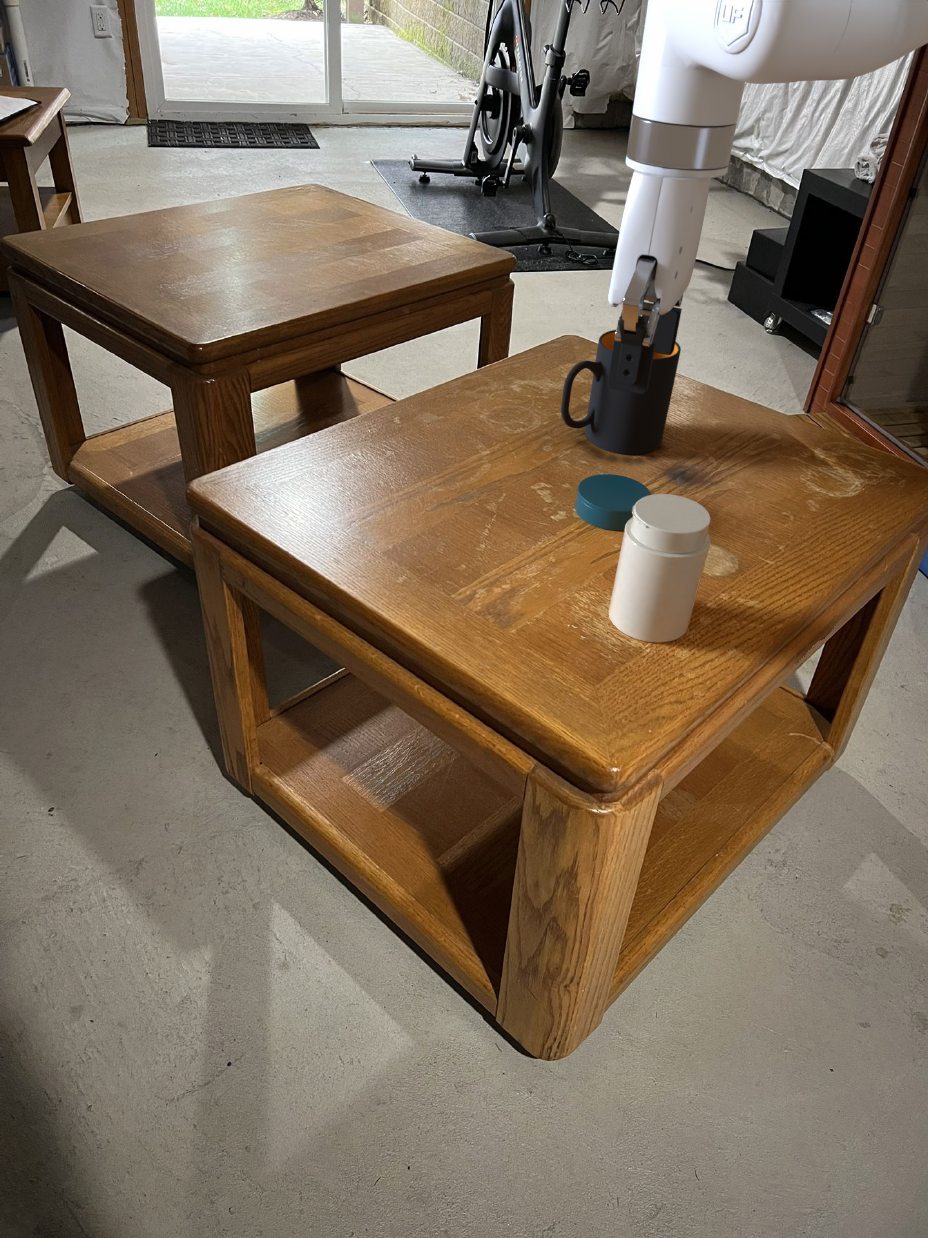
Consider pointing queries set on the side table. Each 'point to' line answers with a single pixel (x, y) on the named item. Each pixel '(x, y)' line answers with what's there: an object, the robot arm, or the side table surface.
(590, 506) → the jar lid
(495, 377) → the side table surface
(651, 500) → the jar
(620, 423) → the mug
